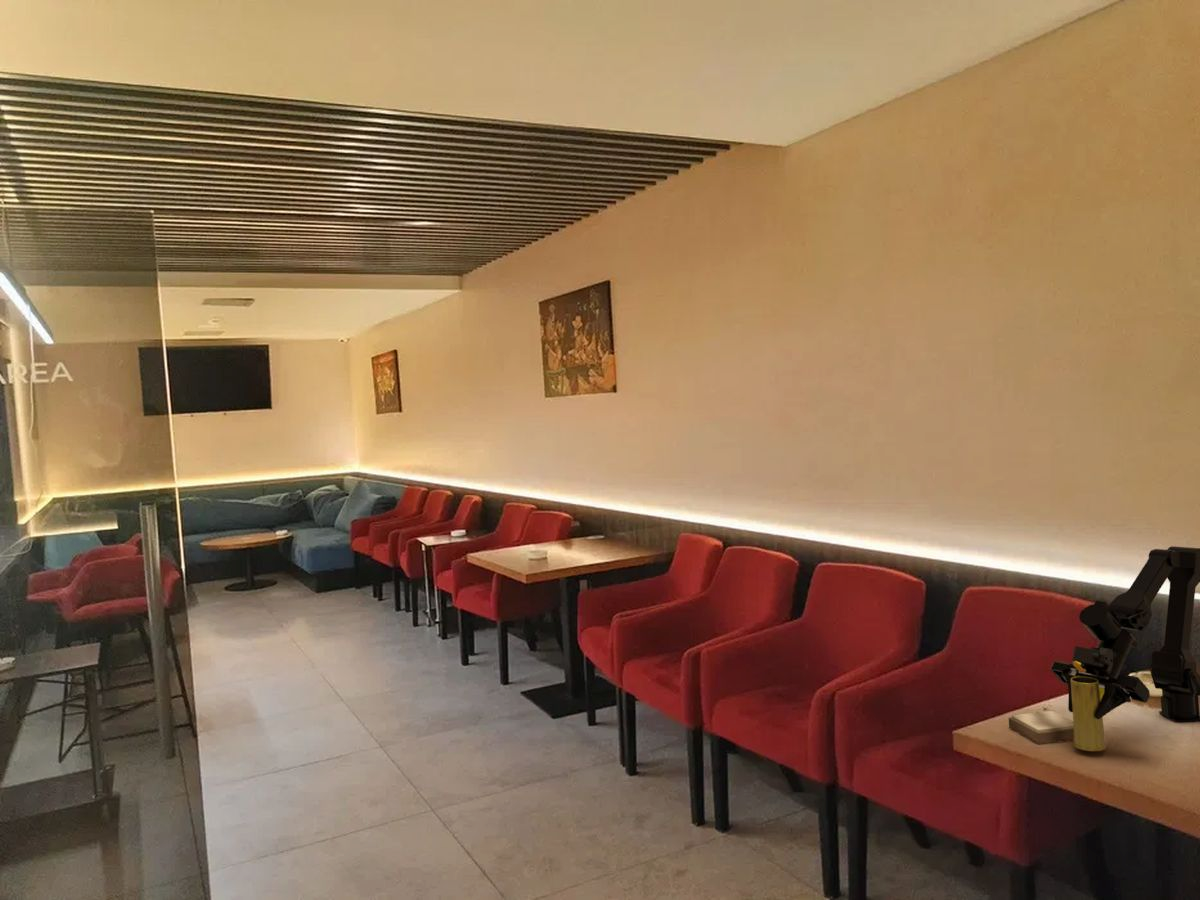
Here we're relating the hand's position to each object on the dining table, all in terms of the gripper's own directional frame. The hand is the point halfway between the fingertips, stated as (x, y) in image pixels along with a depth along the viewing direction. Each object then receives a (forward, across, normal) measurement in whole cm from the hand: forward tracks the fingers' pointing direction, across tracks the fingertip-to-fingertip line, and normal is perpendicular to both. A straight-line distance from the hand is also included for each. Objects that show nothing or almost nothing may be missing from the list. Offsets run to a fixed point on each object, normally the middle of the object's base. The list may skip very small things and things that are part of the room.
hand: (1083, 714), depth 179 cm
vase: (+4, 0, +6) cm, 7 cm away
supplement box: (-14, -16, +26) cm, 34 cm away
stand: (+3, -12, +9) cm, 15 cm away
